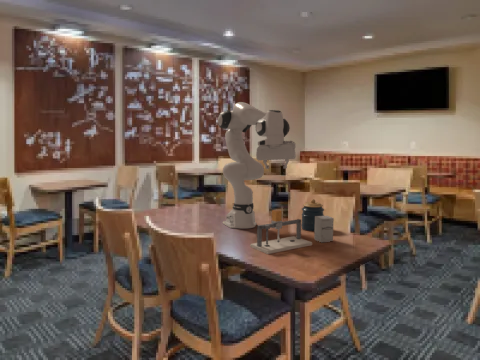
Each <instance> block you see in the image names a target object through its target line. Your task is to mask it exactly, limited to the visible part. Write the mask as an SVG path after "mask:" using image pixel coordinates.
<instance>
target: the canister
mask: <svg viewBox="0 0 480 360" xmlns="http://www.w3.org/2000/svg"><path fill="white" fill-rule="evenodd" d="M301 210H302V212H301V230H303V231H308V232H315V216H325V214H324V211H325V208H323V203H321V202H317V201H316V200H315V199H313V198H312V199H311V200H310V201H307V202H305V203H303V207H302V208H301Z"/></svg>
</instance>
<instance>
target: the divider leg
mask: <svg viewBox="0 0 480 360" xmlns="http://www.w3.org/2000/svg"><path fill="white" fill-rule="evenodd" d="M282 218H283V217H282V210H280V209H274V210H271V222H270V224H271V223H275V227H272V228H271V229H275V230H277V239H278V241H277V242H279V239H280V230H281V229H282V228H283V226H282V222H283V220H282Z"/></svg>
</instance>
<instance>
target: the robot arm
mask: <svg viewBox="0 0 480 360" xmlns="http://www.w3.org/2000/svg"><path fill="white" fill-rule="evenodd" d="M217 125H218V126H219V128H221V129H222V130H226V132H225V135H224V139H225V144H226V148H227V152H228V155H229V157H230V159H231V160H232V162H228V163H226V164H224V166H223V168H222V174H223V177H224V179H225V180H227V181H228V182H229V183H230V185H231V186H232V189H233V195H234V196H233V198H234V199H233V200H234V203H232V209H231V210H230V211H229V212H228V213H226V220H224V221H222V224H223V225H225V226H226V227H228V228H230V229H241V230H242V229H252V228H255V227H256V225H257V224H258V223H257V222H256V215H255V210H254V207H255V206H254V202H253V201H254V197H253V196H254V194H253V193H254V192H253V190H252V188H251V187H249V186H247V185H246V183H245V181H251V180H252V181H253V180H258V179H261V178H262V177H264V176H263V175H264V172H265V170H269V169H270V165H268V161H277V160H281V161H282V160H284V162H285V164H283V165H282V166H283V169H287V168H288V164H289V163H290V160H295V159H296V157H297V155H296V143H295V141H293V140H285V137H286V136H287V135H288V134H289V132H290V129H291V127H290V124H289V122H288V120H287V119H286V118H284V116H283V112H282V111H281V110H276V109H274V110H273V109H269V110H266V112H264V111H262V110H260V109H259V108H256V107H255V106H252V105H251V104H249V103H246V102H244V101H243V102H242V101H239V102H236V103H235V104H234V106H233V108H232V110H225V111H222V112H220V113H219V114H218V116H217ZM252 126H255V131H256V134H257V135H258V136H259V137H262V138H263V137H264V139H261V140H259V141H257V148H256V156H255V157H256V159H257V160H256V159H255V158H253V156H251V154H250V153H249V151H248V150H247V146H246V145H245V142H244V138H243V135H242V134H243V133H246V132H247V131H248V130H250V128H251V127H252ZM260 161H263V162H262V163H263V164H264V165H263V164H262V163H261V162H260ZM264 166H265V168H264Z"/></svg>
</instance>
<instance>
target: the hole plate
mask: <svg viewBox="0 0 480 360" xmlns="http://www.w3.org/2000/svg"><path fill="white" fill-rule="evenodd" d="M294 224H296V227H295V228H296V230H295V231H296V235H294V236H287V237H283V238H279V242H277V241H278V238H275V239H271V240H269V230H270V229H273V228H272V227H275V223H271V222H270V223H265V224H258V225H257V224H256V225H257V226H256V227H257V228H256V230H257V231H256V242H254V243H250V245H249V247H250V248H252V249H254V250H257V251H259V252H261V253H264V254H267V255H270V254H271V255H272V254H274V253H275V254H276V253H281V252H285V251H290V250H295V249H300V248H304V247H308V246H313V242H312V241H309V240H306V239H304V238H302V226H301V224H302V218H297V219H293V220H286V221H282V227H284V226H290V225H294ZM263 230H266V231H265V232H266V233H265V236H266V237H265V239H266V240H265V241H263V239H262V238H263V235H262V234H263Z"/></svg>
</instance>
